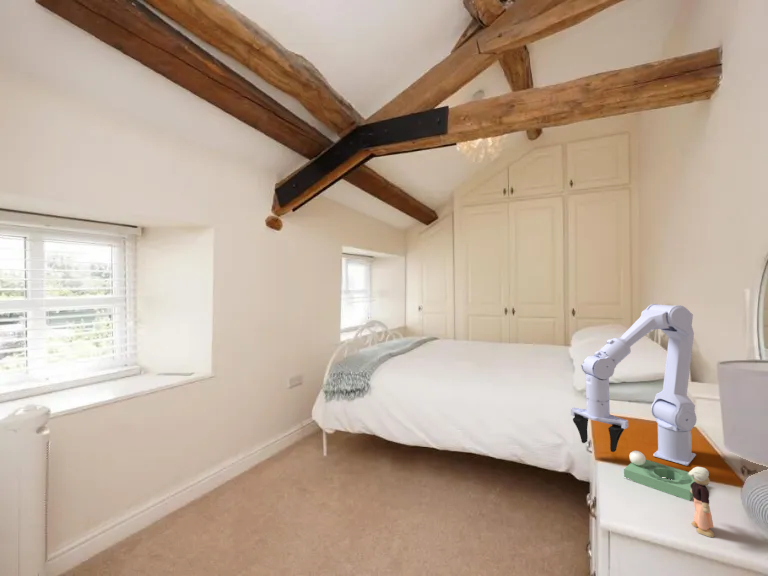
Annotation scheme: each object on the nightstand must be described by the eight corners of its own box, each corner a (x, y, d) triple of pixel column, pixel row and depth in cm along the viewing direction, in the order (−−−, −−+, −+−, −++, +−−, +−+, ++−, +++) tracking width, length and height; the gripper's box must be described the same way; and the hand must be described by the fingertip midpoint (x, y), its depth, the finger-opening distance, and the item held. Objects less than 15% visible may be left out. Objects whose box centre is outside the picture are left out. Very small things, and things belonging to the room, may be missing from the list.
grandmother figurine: (725, 541, 73) (724, 477, 72) (702, 539, 73) (701, 475, 73) (700, 517, 80) (699, 459, 80) (680, 515, 81) (679, 457, 81)
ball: (632, 460, 101) (631, 447, 101) (647, 465, 98) (647, 451, 98) (627, 464, 99) (626, 451, 99) (643, 469, 96) (642, 455, 96)
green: (637, 465, 103) (637, 456, 103) (700, 485, 92) (700, 475, 92) (624, 478, 97) (624, 469, 97) (689, 500, 86) (689, 490, 86)
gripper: (565, 396, 109) (566, 442, 109) (620, 408, 98) (621, 459, 98) (576, 391, 113) (577, 435, 114) (630, 402, 102) (631, 451, 102)
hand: (598, 446), depth 106 cm, fingers open, 7 cm apart
